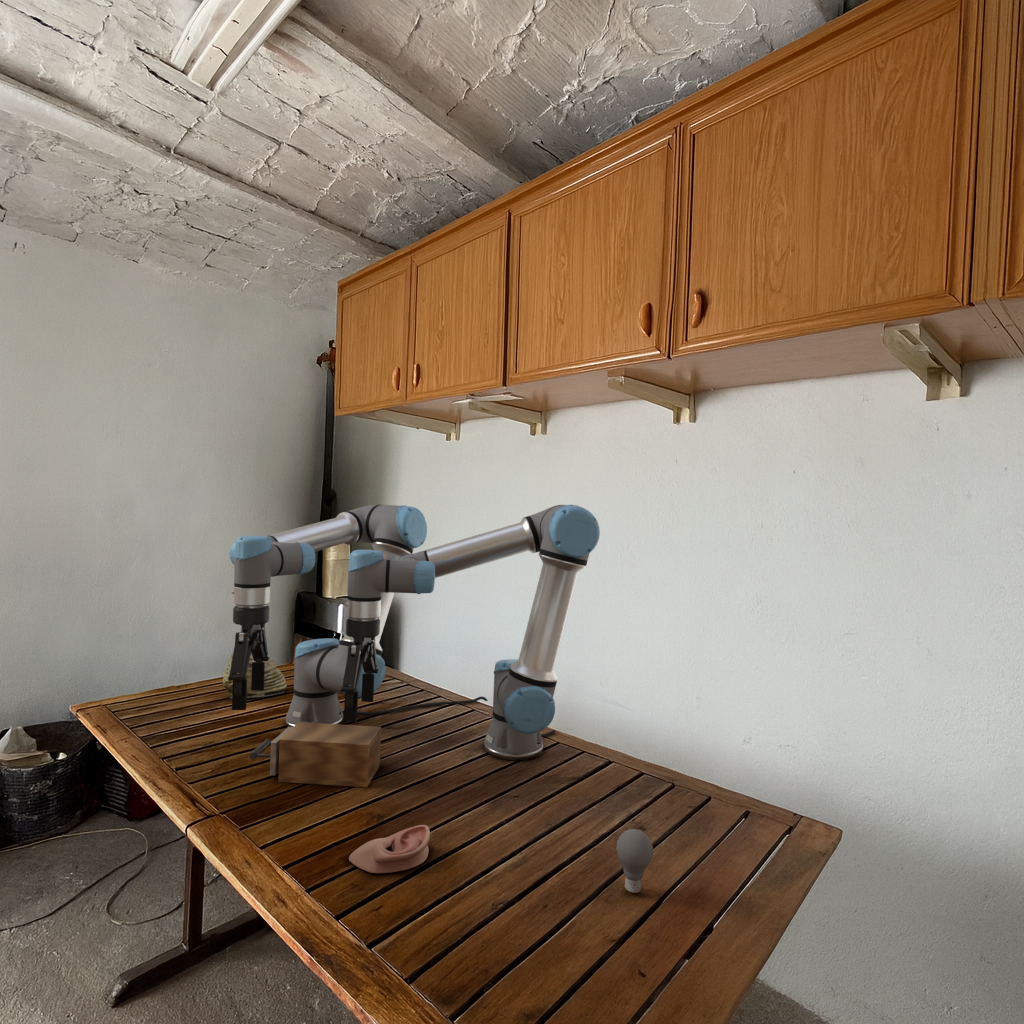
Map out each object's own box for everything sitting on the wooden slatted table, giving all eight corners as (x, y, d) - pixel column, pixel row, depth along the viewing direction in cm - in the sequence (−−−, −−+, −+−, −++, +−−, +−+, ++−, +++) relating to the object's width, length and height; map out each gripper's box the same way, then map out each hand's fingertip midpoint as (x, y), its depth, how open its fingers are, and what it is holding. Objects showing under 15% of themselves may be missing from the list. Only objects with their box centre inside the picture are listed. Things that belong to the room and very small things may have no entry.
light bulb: (610, 879, 108) (613, 822, 108) (644, 879, 109) (647, 822, 109) (619, 902, 102) (622, 840, 102) (655, 901, 103) (658, 840, 103)
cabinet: (278, 781, 140) (279, 739, 140) (297, 761, 151) (298, 721, 151) (366, 787, 139) (368, 744, 139) (379, 766, 150) (381, 726, 150)
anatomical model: (341, 845, 108) (369, 813, 120) (340, 868, 108) (368, 833, 120) (414, 857, 106) (436, 823, 117) (413, 880, 106) (435, 844, 117)
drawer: (246, 773, 141) (247, 741, 141) (265, 756, 151) (266, 725, 150) (351, 780, 140) (353, 747, 140) (364, 762, 150) (365, 731, 149)
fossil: (218, 695, 195) (220, 647, 195) (278, 685, 208) (279, 640, 207) (228, 703, 189) (230, 653, 188) (289, 692, 201) (290, 645, 201)
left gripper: (251, 595, 153) (248, 682, 154) (213, 615, 129) (210, 718, 129) (283, 596, 154) (280, 682, 155) (252, 616, 129) (249, 718, 130)
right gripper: (362, 607, 156) (358, 693, 157) (328, 627, 132) (324, 729, 132) (392, 609, 156) (388, 695, 157) (364, 630, 131) (360, 731, 132)
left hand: (248, 699), depth 142 cm, fingers open, 13 cm apart
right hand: (359, 710), depth 144 cm, fingers open, 13 cm apart
